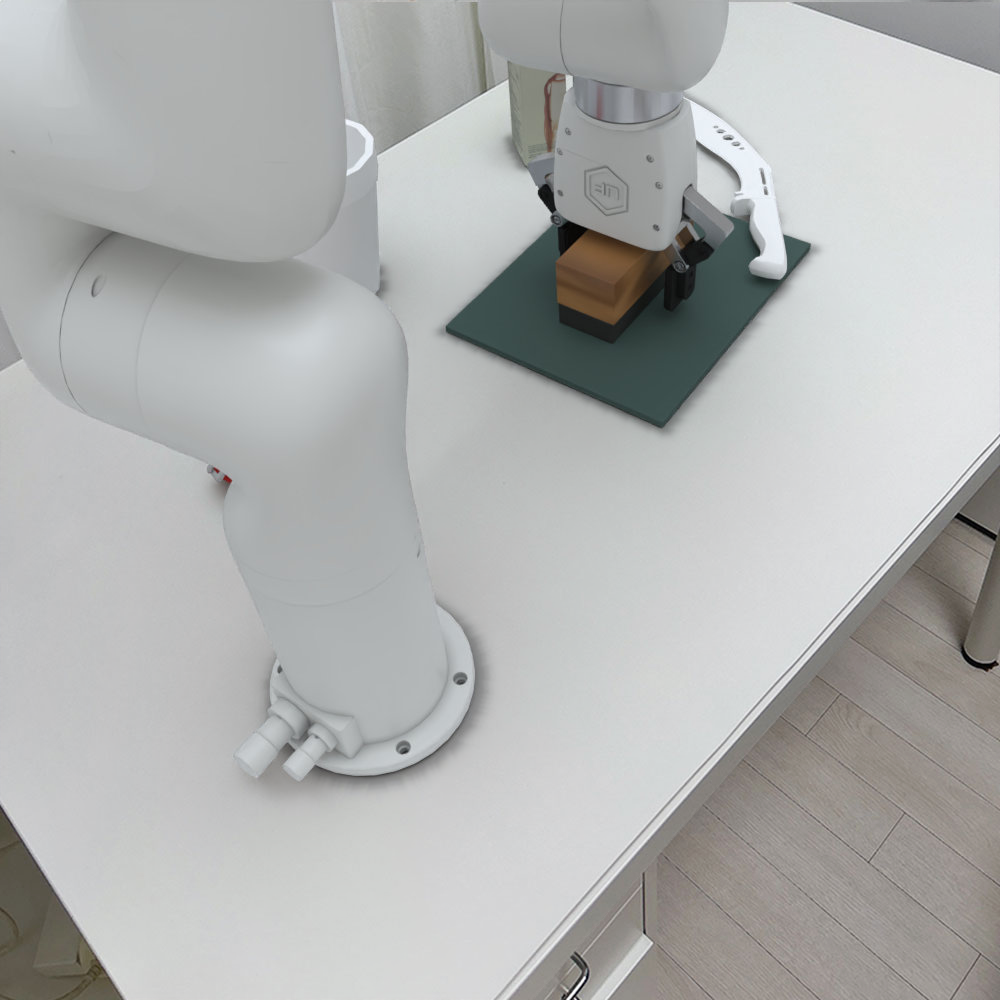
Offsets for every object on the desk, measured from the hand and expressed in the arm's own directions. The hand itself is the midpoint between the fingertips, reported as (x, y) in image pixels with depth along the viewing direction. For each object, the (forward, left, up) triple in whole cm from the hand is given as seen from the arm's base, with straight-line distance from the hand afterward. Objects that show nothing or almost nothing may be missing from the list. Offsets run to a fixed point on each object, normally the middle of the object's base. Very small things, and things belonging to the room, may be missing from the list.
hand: (624, 280), depth 88 cm
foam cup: (-11, +21, -2) cm, 24 cm away
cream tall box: (+14, +18, -2) cm, 23 cm away
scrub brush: (0, 0, -1) cm, 1 cm away
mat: (+1, 0, -2) cm, 2 cm away
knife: (+18, 0, -1) cm, 18 cm away
